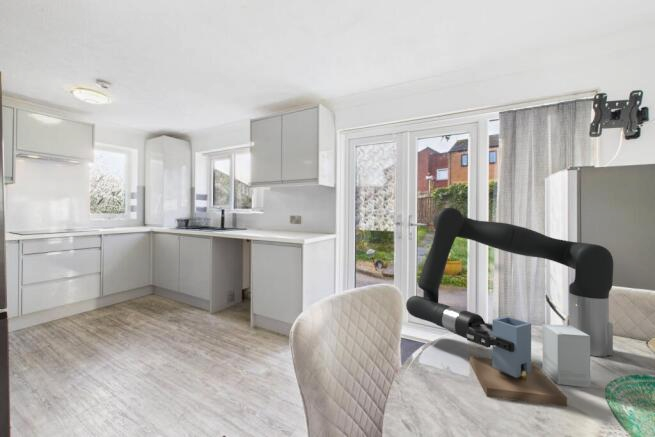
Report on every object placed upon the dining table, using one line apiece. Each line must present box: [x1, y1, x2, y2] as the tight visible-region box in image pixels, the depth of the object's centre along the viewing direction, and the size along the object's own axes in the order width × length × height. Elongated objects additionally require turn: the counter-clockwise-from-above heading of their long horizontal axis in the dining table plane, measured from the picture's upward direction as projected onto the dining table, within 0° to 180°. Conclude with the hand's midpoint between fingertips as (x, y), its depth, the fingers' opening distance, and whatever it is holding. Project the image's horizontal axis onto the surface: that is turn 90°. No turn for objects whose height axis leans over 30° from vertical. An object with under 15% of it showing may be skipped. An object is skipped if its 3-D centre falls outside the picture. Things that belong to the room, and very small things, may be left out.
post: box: [502, 364, 526, 381], centre depth 73 cm, size 5×5×7 cm
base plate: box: [469, 355, 568, 407], centre depth 73 cm, size 16×16×2 cm
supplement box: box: [541, 323, 591, 388], centre depth 75 cm, size 7×7×13 cm
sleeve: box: [491, 315, 532, 378], centre depth 73 cm, size 6×6×12 cm
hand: (521, 345), depth 71 cm, fingers closed on sleeve, 6 cm apart
